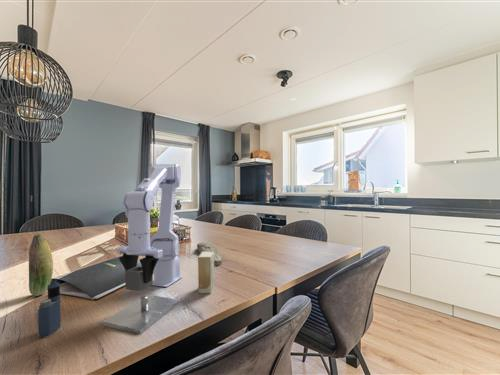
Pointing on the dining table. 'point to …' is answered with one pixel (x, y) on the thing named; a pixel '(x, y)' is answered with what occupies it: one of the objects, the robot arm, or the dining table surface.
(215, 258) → the elongated rock
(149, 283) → the hollow square box
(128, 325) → the shaft plate
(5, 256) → the dining table surface
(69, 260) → the dining table surface
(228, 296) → the dining table surface
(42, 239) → the vegetable
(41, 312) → the vaping device
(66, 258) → the dining table surface
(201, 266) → the skincare box
